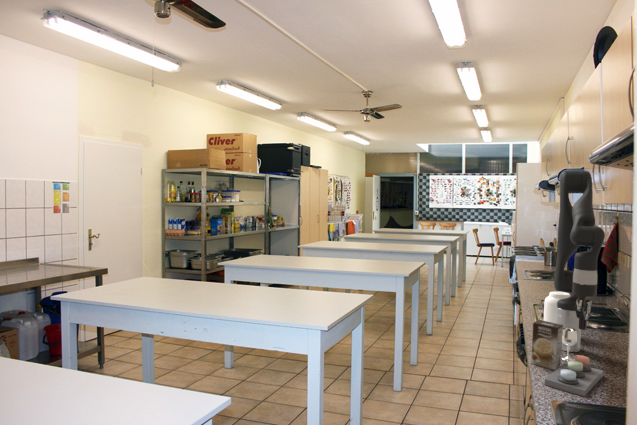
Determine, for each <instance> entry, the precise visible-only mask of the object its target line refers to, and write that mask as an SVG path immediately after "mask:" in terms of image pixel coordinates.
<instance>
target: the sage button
mask: <svg viewBox="0 0 637 426" xmlns="http://www.w3.org/2000/svg"><path fill="white" fill-rule="evenodd" d="M567 362H568V368H569V369H571V370H574V371H583V363H581V362H578V361H567Z"/></svg>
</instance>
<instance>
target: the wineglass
mask: <svg viewBox="0 0 637 426" xmlns="http://www.w3.org/2000/svg"><path fill="white" fill-rule="evenodd" d="M576 342H577V333H576V330H575V329H572V328H563V334H562V343H564V344H565V345H567V351H566V353H567V354H566V355H567V356H561V360H563V361H566V362H568V361H574V359H575V358H572V357H570V356H569V353H570V352H569V349H570V347H569V346H572V345H575V344H576Z"/></svg>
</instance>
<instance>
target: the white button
mask: <svg viewBox="0 0 637 426" xmlns="http://www.w3.org/2000/svg"><path fill="white" fill-rule="evenodd" d="M560 377H561V378H563V379H565V380H570V381H574V380H576V372H574V371H572V370H567V369H562V370H561V372H560Z"/></svg>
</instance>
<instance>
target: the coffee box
mask: <svg viewBox="0 0 637 426" xmlns="http://www.w3.org/2000/svg"><path fill="white" fill-rule="evenodd" d="M562 334H563V325H560V324H556V323H552V322H547V321H544V319H543V320H542V319H537V320H536V321H534V322H533V323H532V340H531V356H530V357H531V360H530V364H532V365H536V366H539V367H542V368H545V369H549V370H553V371H555V370H557V369H558V368H559V367H560V366H562V363H561V362H562V359H561V358H562V351H563V350H562Z"/></svg>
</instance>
